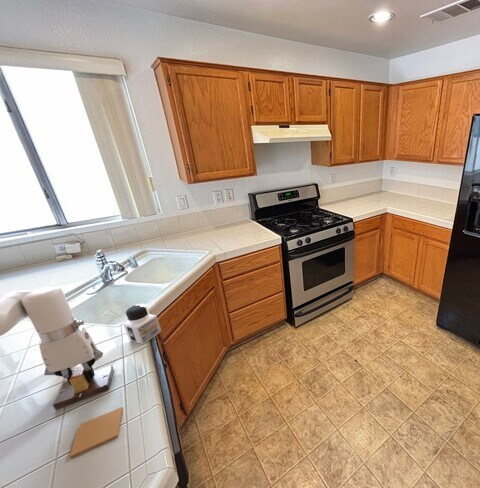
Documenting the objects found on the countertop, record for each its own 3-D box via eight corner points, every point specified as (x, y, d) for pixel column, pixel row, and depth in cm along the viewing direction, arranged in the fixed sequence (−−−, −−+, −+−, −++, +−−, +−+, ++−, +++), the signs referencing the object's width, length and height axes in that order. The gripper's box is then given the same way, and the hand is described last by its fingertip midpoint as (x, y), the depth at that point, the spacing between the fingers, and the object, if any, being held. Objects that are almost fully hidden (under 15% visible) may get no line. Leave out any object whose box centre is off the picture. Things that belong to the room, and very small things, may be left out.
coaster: (70, 458, 60) (69, 456, 60) (80, 425, 68) (79, 424, 67) (118, 436, 64) (117, 435, 64) (123, 408, 72) (122, 406, 71)
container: (143, 344, 96) (132, 314, 92) (129, 340, 99) (118, 311, 94) (162, 331, 103) (152, 303, 99) (148, 328, 106) (138, 300, 101)
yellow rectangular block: (82, 377, 80) (75, 363, 79) (93, 373, 82) (87, 360, 80) (75, 393, 75) (68, 379, 73) (87, 389, 76) (80, 375, 74)
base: (54, 413, 71) (50, 407, 71) (66, 384, 81) (64, 379, 80) (108, 392, 77) (106, 386, 76) (114, 367, 86) (112, 362, 85)
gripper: (99, 314, 79) (119, 362, 85) (24, 334, 71) (52, 385, 77) (93, 327, 72) (115, 378, 78) (10, 350, 65) (42, 405, 71)
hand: (83, 381), depth 78 cm, fingers closed on yellow rectangular block, 2 cm apart
